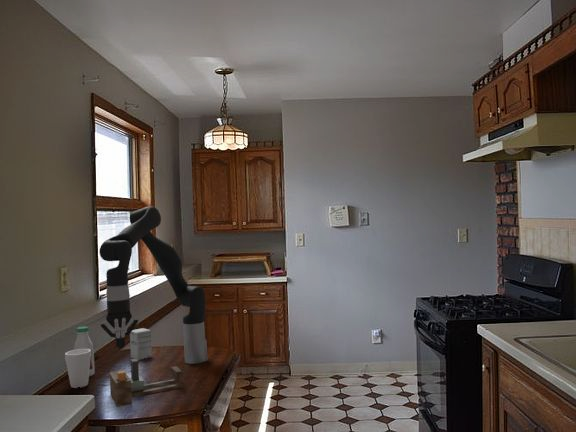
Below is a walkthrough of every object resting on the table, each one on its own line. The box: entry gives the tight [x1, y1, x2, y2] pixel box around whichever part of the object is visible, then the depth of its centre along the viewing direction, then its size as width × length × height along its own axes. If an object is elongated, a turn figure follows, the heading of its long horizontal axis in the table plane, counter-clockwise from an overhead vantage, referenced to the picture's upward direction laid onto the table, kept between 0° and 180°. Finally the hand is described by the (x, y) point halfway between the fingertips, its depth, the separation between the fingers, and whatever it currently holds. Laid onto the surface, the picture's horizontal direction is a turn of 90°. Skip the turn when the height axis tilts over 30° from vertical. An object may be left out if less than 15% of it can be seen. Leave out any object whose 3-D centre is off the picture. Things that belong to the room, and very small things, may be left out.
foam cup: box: [64, 349, 91, 389], centre depth 197 cm, size 10×9×13 cm
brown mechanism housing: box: [109, 365, 183, 408], centre depth 183 cm, size 24×15×8 cm, turn 117°
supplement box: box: [129, 327, 153, 361], centre depth 235 cm, size 7×7×13 cm
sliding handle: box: [129, 358, 145, 392], centre depth 184 cm, size 5×7×11 cm
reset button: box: [117, 370, 127, 382], centre depth 175 cm, size 2×2×4 cm
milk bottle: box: [73, 326, 95, 377], centre depth 210 cm, size 8×8×20 cm
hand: (120, 348), depth 175 cm, fingers closed
